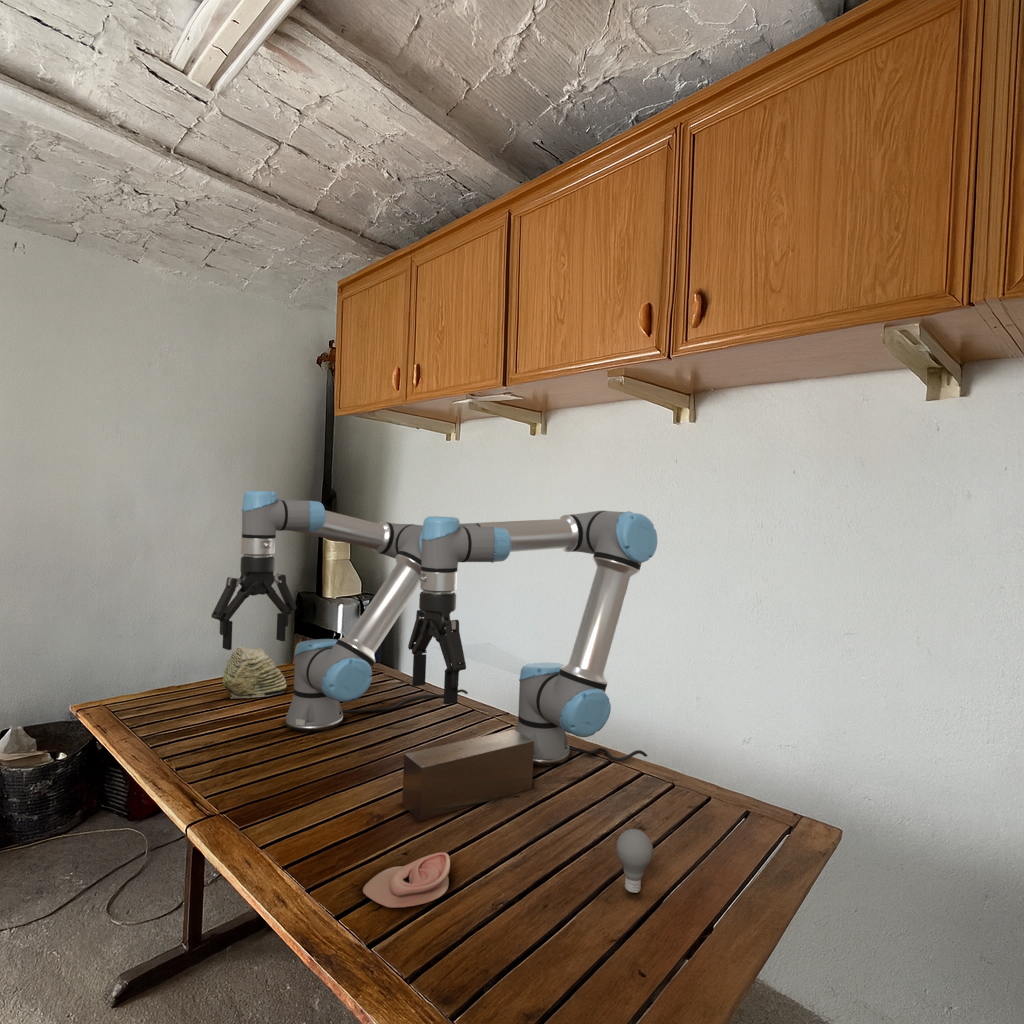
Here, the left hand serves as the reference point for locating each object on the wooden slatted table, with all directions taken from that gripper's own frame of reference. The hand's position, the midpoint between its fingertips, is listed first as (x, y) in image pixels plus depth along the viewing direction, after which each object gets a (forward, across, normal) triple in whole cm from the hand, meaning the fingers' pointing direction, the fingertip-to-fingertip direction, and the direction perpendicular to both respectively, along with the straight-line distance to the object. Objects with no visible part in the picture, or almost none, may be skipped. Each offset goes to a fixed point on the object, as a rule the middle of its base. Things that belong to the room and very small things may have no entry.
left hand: (254, 644), depth 151 cm
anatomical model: (+27, -9, -65) cm, 71 cm away
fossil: (+27, +25, +43) cm, 57 cm away
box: (+27, +22, -51) cm, 62 cm away
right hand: (+4, +12, -48) cm, 50 cm away
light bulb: (+27, +16, -93) cm, 99 cm away
